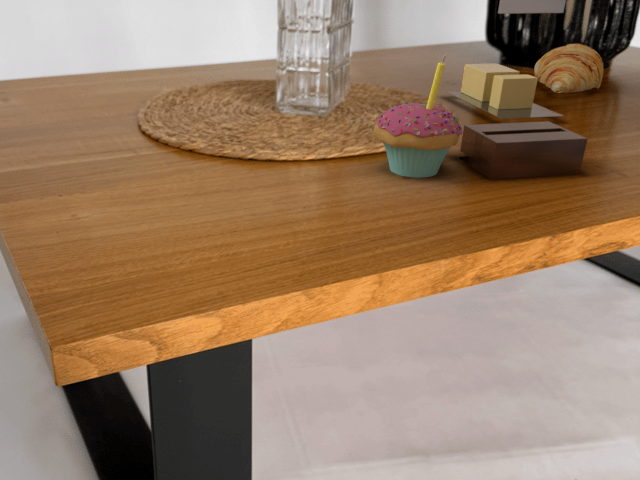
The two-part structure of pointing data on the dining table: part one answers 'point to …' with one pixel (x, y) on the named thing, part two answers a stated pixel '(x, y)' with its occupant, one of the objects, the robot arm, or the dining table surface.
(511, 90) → the butter pat
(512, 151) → the knife block
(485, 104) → the butter board
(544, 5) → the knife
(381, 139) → the cupcake
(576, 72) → the croissant
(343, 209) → the dining table surface
